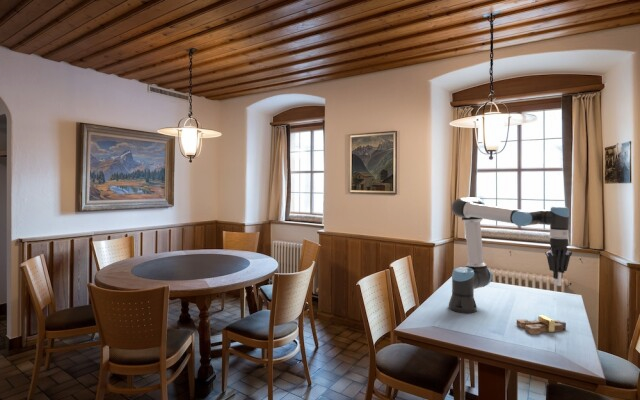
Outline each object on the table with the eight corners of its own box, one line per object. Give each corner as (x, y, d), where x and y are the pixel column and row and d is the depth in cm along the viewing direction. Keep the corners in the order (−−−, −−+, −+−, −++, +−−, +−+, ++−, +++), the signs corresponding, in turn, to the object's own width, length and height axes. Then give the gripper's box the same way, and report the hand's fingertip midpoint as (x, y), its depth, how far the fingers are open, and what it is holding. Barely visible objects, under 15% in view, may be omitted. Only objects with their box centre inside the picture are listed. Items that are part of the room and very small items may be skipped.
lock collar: (538, 326, 180) (538, 315, 180) (543, 325, 180) (543, 315, 180) (549, 332, 173) (549, 321, 173) (554, 331, 173) (555, 320, 173)
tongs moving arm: (516, 324, 183) (516, 319, 182) (558, 324, 183) (559, 319, 183) (523, 329, 176) (523, 324, 176) (567, 328, 177) (567, 323, 177)
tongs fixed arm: (524, 330, 176) (525, 324, 175) (559, 328, 178) (559, 323, 178) (530, 334, 171) (531, 328, 171) (565, 332, 173) (566, 326, 173)
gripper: (552, 239, 170) (551, 287, 171) (577, 238, 172) (575, 286, 173) (541, 236, 178) (540, 283, 179) (565, 236, 179) (563, 282, 180)
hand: (557, 285), depth 176 cm, fingers closed
